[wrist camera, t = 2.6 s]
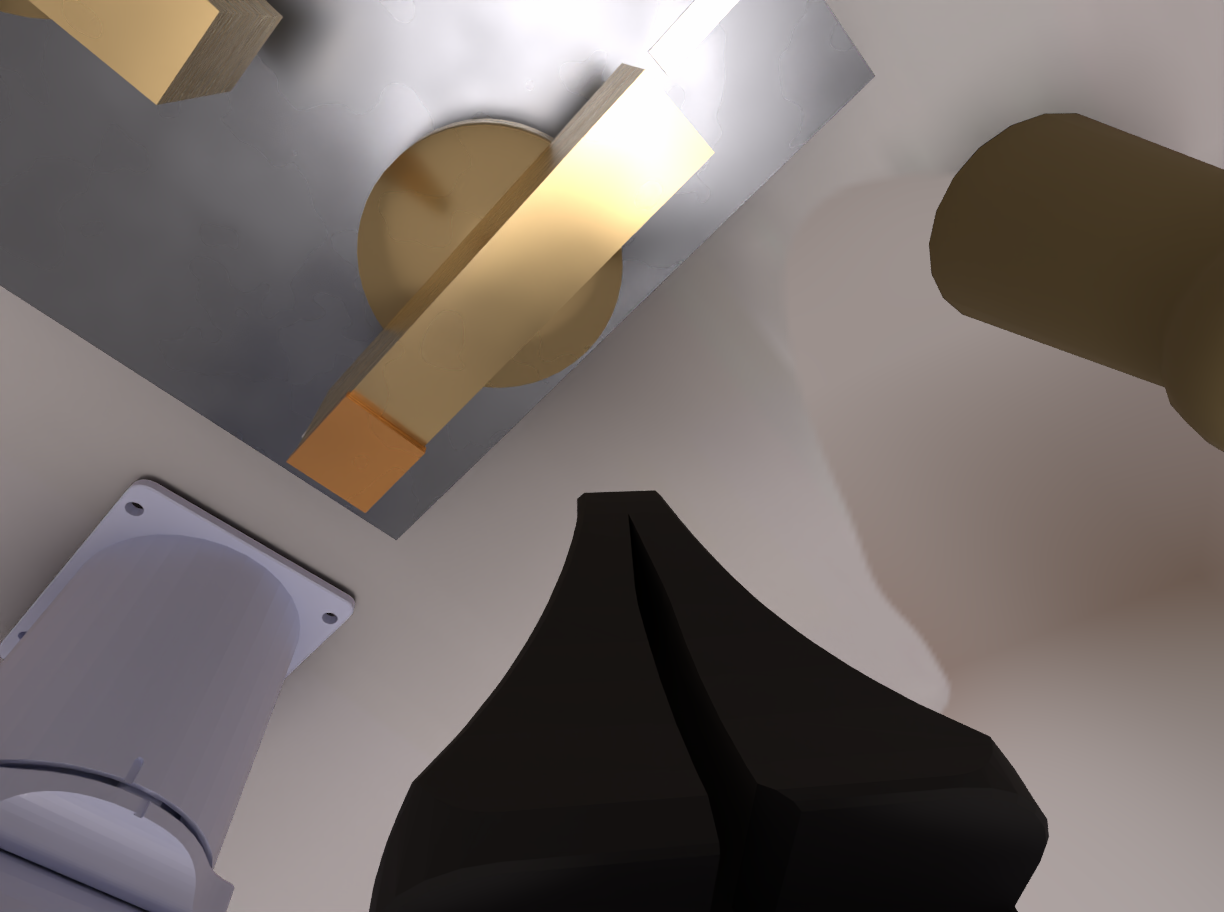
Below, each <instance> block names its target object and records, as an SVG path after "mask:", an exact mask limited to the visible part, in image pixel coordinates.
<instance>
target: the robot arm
mask: <svg viewBox="0 0 1224 912" xmlns="http://www.w3.org/2000/svg"><path fill="white" fill-rule="evenodd" d="M132 502H135V503H138V504H140V505H141V506H142V507H143V509H140V508H137V507H135V506H134V505H133V504H132ZM354 608H355V601H354V599H353V598H352V597H351V596H350V595H348V594H346V593H345V592H343V591H341V590H339V589H338V588H336V587H334V586H333V585H331V584H329V583H327V582H326V581H324V580H322V579H321V578H319V577H317V576H315V575H314V574H312V573H310V572H309V571H307V570H305V569H303V568H302V567H300V566H298V565H297V564H295V563H293V562H291V561H290V560H288V559H286V558H285V557H283V556H281V555H279V554H278V553H276V552H274V551H273V550H271V549H269V548H267V547H266V546H264V545H262V544H261V543H259V542H257V541H255V540H254V539H252V538H250V537H249V536H247V535H245V534H243V533H242V532H240V531H238V530H237V529H235V528H233V527H231V526H230V525H228V524H226V523H225V522H223V521H221V520H219V519H218V518H216V517H214V516H213V515H211V514H209V513H207V512H206V511H204V510H202V509H201V508H199V507H197V506H195V505H194V504H192V503H190V502H189V501H187V500H185V499H183V498H182V497H180V496H178V495H177V494H175V493H173V492H171V491H170V490H168V489H166V488H165V487H163V486H161V485H159V484H158V483H156V482H153V481H151V480H145V479H142V480H137V481H135V482H134V483H133V484H132V485H131V486H130V487H129V488H128V489H127V490H126V492H125V493H124V494H123V495H122V496H121V498H120V499H119V500H118V501H117V502H116V504H115V505H114V506H113V507H112V509H111V510H110V511H109V512H108V513H107V515H106V516H105V517H104V518H103V520H102V521H101V522H100V523H99V524H98V526H97V527H96V528H95V529H94V530H93V532H92V533H91V534H90V535H89V537H88V538H87V539H86V540H85V541H84V543H83V544H82V545H81V546H80V547H79V549H78V550H77V551H76V552H75V554H74V555H73V556H72V557H71V558H70V560H69V561H68V562H67V563H66V564H65V566H64V567H63V568H62V569H61V571H60V572H59V573H58V574H57V575H56V577H55V578H54V579H53V580H52V581H51V583H50V584H49V585H48V586H47V588H46V589H45V590H44V591H43V592H42V594H41V595H40V596H39V597H38V598H37V600H36V601H35V602H34V603H33V605H32V606H31V607H30V608H29V609H28V611H27V612H26V613H25V614H24V616H23V617H22V618H21V619H20V620H19V622H18V623H17V624H16V625H15V626H14V628H13V629H12V630H11V631H10V633H9V634H8V635H7V636H6V637H5V639H4V640H3V641H2V642H1V643H0V657H1V658H2V659H4V660H3V661H2V662H1V664H0V912H226V911H227V908H228V905H229V902H230V899H231V896H232V893H233V890H234V886H233V884H231V883H229V882H228V881H226V880H224V879H222V878H221V877H220V876H219V875H217V874H216V873H215V872H214V871H213V868H214V866H215V863H216V860H217V858H218V855H219V852H220V850H221V847H222V844H223V842H224V839H225V836H226V834H227V831H228V828H229V826H230V823H231V820H232V818H233V815H234V812H235V810H236V807H237V804H238V802H239V799H240V796H241V794H242V791H243V788H244V786H245V783H246V780H247V778H248V775H249V772H250V770H251V767H252V764H253V762H254V759H255V756H256V754H257V751H258V748H259V746H260V743H261V740H262V738H263V735H264V732H265V730H266V727H267V724H268V722H269V719H270V716H271V714H272V711H273V708H274V706H275V703H276V700H277V698H278V695H279V692H280V690H281V687H282V684H283V682H284V679H285V678H286V677H287V676H288V675H289V674H290V673H291V672H292V671H294V670H295V669H296V668H297V667H298V666H299V665H300V664H301V663H302V662H303V661H304V660H305V659H306V658H307V657H308V656H309V655H310V654H311V653H313V652H314V651H315V650H316V649H317V648H318V647H319V646H320V645H321V644H322V643H323V642H324V641H325V640H326V639H327V638H328V637H329V636H330V635H332V634H333V633H334V632H335V631H336V630H337V629H338V628H339V627H340V626H341V625H342V624H343V623H344V622H345V621H346V620H347V619H348V618H349V617H350V616H351V615H352V614H353V612H354ZM326 613H333V614H335V615H336V616H330V615H327V614H326ZM1048 837H1049V834H1048V823H1047V818H1046V817H1045V815H1044V814H1043V812H1042V811H1041V809H1040V808H1039V806H1038V805H1037V803H1036V802H1035V800H1034V799H1033V797H1032V796H1031V794H1030V793H1029V791H1028V789H1027V788H1026V786H1025V784H1024V783H1023V781H1022V780H1021V778H1020V777H1019V775H1018V774H1017V772H1016V771H1015V769H1014V768H1013V766H1012V765H1011V764H1010V762H1009V761H1008V760H1007V758H1006V757H1005V756H1004V754H1003V753H1002V752H1001V750H1000V749H999V748H998V747H997V745H996V744H995V743H994V741H993V740H992V739H991V737H989V736H988V735H985V734H983V733H981V732H979V731H977V730H974V729H972V728H970V727H968V726H966V725H963V724H961V723H959V722H957V721H955V720H952V719H950V718H948V717H946V716H944V715H942V714H939V713H937V712H935V711H933V710H931V709H929V708H926V707H924V706H922V705H920V704H918V703H916V702H914V701H912V700H910V699H908V698H906V697H904V696H903V695H901V694H899V693H897V692H895V691H893V690H891V689H890V688H888V687H886V686H884V685H882V684H880V683H878V682H877V681H875V680H873V679H871V678H869V677H868V676H866V675H864V674H863V673H861V672H859V671H858V670H856V669H854V668H852V667H851V666H849V665H847V664H846V663H844V662H843V661H841V660H840V659H838V658H837V657H835V656H833V655H832V654H830V653H829V652H827V651H826V650H824V649H823V648H821V647H820V646H818V645H817V644H815V643H813V642H812V641H811V640H809V639H808V638H806V637H805V636H804V635H802V634H801V633H799V632H798V631H797V630H795V629H794V628H793V627H791V626H790V625H789V624H787V623H786V622H785V621H783V620H782V619H781V618H780V617H778V616H777V615H776V614H774V613H773V612H772V611H771V610H769V609H768V608H767V607H766V606H764V605H763V604H762V603H761V602H760V601H758V600H757V599H756V598H755V597H754V596H753V595H752V594H750V593H749V592H748V591H747V590H746V589H745V588H744V587H743V586H742V585H741V584H740V583H739V582H738V581H737V580H735V579H734V578H733V577H732V576H731V575H730V574H729V573H728V572H727V571H726V570H725V569H724V568H723V567H722V566H721V565H720V564H719V562H718V561H717V560H716V559H715V558H714V557H713V556H712V555H711V554H710V553H709V552H708V551H707V550H706V549H705V548H704V547H703V545H702V544H701V543H700V542H699V541H698V540H697V539H696V538H695V537H694V535H693V534H692V533H691V532H690V531H689V530H688V528H687V527H686V526H685V525H684V524H683V523H682V521H681V520H680V519H679V518H678V517H677V515H676V514H675V513H674V512H673V510H672V509H671V508H670V507H669V505H668V504H667V503H666V502H665V500H664V499H663V498H662V497H661V495H659V494H658V493H657V492H656V491H626V492H597V493H584V494H582V495H581V496H580V497H579V498H578V499H577V522H576V527H575V531H574V535H573V539H572V543H571V546H570V549H569V552H568V555H567V558H566V561H565V564H564V567H563V569H562V572H561V574H560V576H559V579H558V581H557V583H556V586H555V588H554V590H553V592H552V595H551V597H550V599H549V602H548V604H547V606H546V608H545V610H544V612H543V614H542V616H541V617H540V619H539V621H538V623H537V625H536V627H535V628H534V630H533V632H532V634H531V635H530V637H529V639H528V641H527V642H526V644H525V646H524V647H523V649H522V650H521V652H520V653H519V655H518V656H517V658H516V660H515V661H514V663H513V664H512V666H511V667H510V669H509V670H508V672H507V673H506V675H505V676H504V677H503V679H502V680H501V682H500V683H499V684H498V686H497V687H496V689H495V690H494V691H493V692H492V694H491V695H490V696H489V697H488V699H487V700H486V701H485V702H484V704H483V705H482V706H481V707H480V709H479V710H478V711H477V712H476V714H475V715H474V716H473V717H472V719H471V720H470V721H469V722H468V724H467V725H466V726H465V727H464V728H463V729H462V731H461V732H460V733H459V734H458V735H457V736H456V737H455V738H454V740H453V741H452V742H451V743H450V744H449V745H448V746H447V747H446V748H445V749H444V750H443V751H442V752H441V753H440V754H439V755H438V756H437V757H436V758H435V759H434V760H433V761H432V762H431V763H430V764H429V766H428V767H427V768H426V769H425V770H424V771H423V772H422V773H421V774H420V775H419V776H418V777H417V778H416V779H415V780H414V781H413V782H412V784H411V786H410V788H409V791H408V793H407V795H406V797H405V799H404V802H403V804H402V806H401V809H400V811H399V813H398V815H397V818H396V820H395V823H394V825H393V828H392V830H391V833H390V835H389V838H388V841H387V843H386V846H385V849H384V852H383V855H382V858H381V862H380V866H379V869H378V872H377V875H376V879H375V883H374V887H373V892H372V898H371V904H370V909H369V912H1018V911H1017V910H1016V908H1015V905H1016V903H1017V901H1018V899H1019V897H1020V896H1021V894H1022V892H1023V891H1024V889H1025V887H1026V885H1027V884H1028V882H1029V880H1030V878H1031V877H1032V875H1033V873H1034V871H1035V870H1036V868H1037V866H1038V864H1039V863H1040V861H1041V858H1042V855H1043V852H1044V849H1045V847H1046V844H1047V841H1048Z"/></svg>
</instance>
